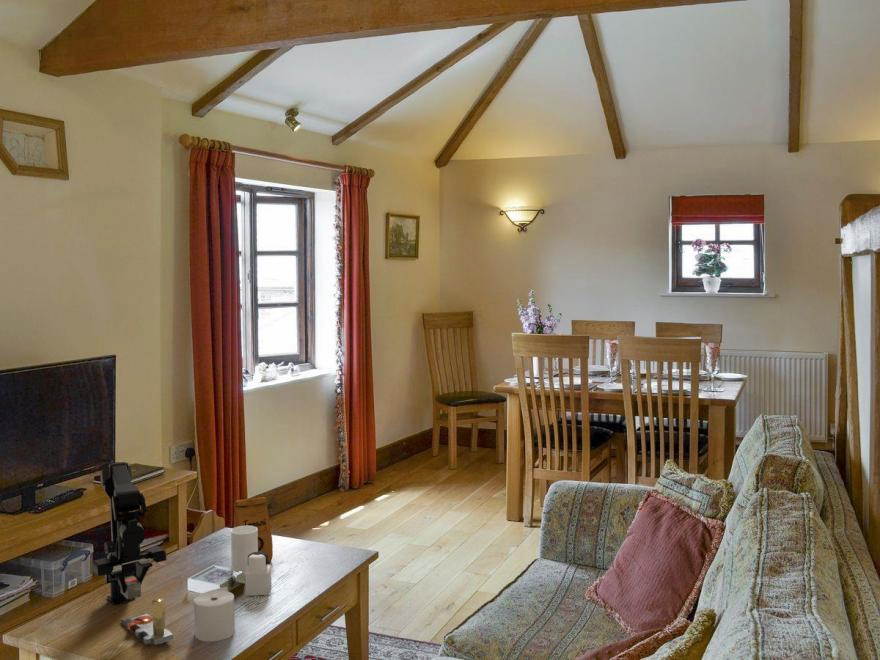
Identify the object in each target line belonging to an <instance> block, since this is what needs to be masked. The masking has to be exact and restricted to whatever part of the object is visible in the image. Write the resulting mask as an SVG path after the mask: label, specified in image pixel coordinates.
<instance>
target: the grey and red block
mask: <svg viewBox="0 0 880 660" xmlns="http://www.w3.org/2000/svg"><path fill="white" fill-rule="evenodd" d="M141 586H142V584H141V583H140V581H139V580H138V579H137V578H135V577H134V576H130V577H125V593H123V592H122V590H121V593H122V594H123V595H124V596H125V597H126V598H127V599H132V598H135V599H137V598H139V597H141V596H142V592H141V591H142V590H141V589H142V588H141Z"/></svg>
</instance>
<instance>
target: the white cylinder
mask: <svg viewBox="0 0 880 660" xmlns="http://www.w3.org/2000/svg"><path fill="white" fill-rule="evenodd" d="M230 541H231V542H230V545H231V549H230V550H231V572H232V571H235V572H239V571H242V572H243V573H244V580H245V572H246V570H247V567H248V555H249V554H251V553H253V552H258V530H257V527H254V526H239V527H235V528H234V527H233V528H231V530H230Z"/></svg>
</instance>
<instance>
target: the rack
mask: <svg viewBox="0 0 880 660" xmlns="http://www.w3.org/2000/svg"><path fill="white" fill-rule="evenodd" d="M151 601H152V608H151V609H152V616H151V615H150V614H149V613H144V615H142V614H141V616H140V615H137V616H134V617H131V618H129V619H130V623H127V625H128V629H129V630H130V631H131V630H135V629H137V630H135V635H136V636H137V637H138V638H139V637H142V636H145V637H143V640H144V643H145V644H146V645H147V646H149V645H148V644H150V645H154V646H157V645H160V644H163V643H166V642H169V641H172V640H174V633H172V632H171V631H170V630H169V629H167V628H166V621H165V620H166V618H165V617H166V616H165V615H166V611H165V599H164V598H160V597H159V598H154V599H153V600H151ZM128 629H127V630H128ZM129 630H128V631H129ZM130 631H129V632H130ZM135 635H134V636H135ZM136 636H135V637H136ZM137 637H136V638H137ZM138 638H137V639H138ZM144 643H143V644H144ZM151 643H153V644H151ZM145 644H144V645H145ZM146 645H145V646H146Z"/></svg>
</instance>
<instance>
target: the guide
mask: <svg viewBox="0 0 880 660" xmlns="http://www.w3.org/2000/svg"><path fill="white" fill-rule="evenodd" d="M144 614H145V613H141V615H144ZM141 615H139V616H141ZM127 623H130V618H128V619H127V618H126V619H121V620H120V624H121V625H122V626H123V627H124V628H125V629H126V630H128V631H129V632H130V633H131V634H133V636H135V638H137V639H138V640H139V641H140V640H141V641H140V642H142V643H143V645H145V646H150V645H154V644H153V643H151V644H148V645H146V644H145V643H144V640H143V637H145V636H142V637H139V638H138V637H137V636H136V635H135V630H137V629H135V630H131V631H130V630H129V629H128V625H127Z"/></svg>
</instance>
